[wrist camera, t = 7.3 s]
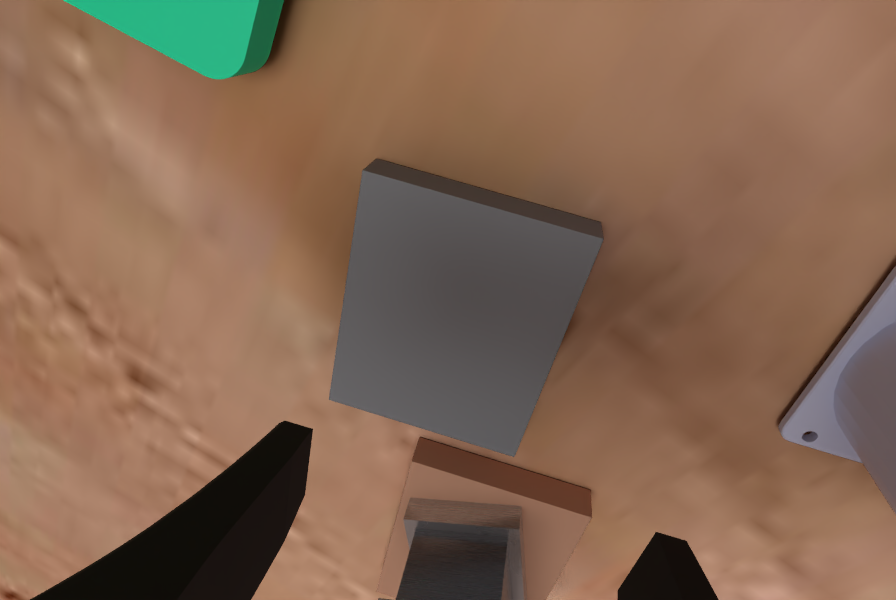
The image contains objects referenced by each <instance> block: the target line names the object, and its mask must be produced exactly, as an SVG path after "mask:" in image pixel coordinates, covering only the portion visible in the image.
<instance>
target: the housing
mask: <svg viewBox="0 0 896 600" xmlns="http://www.w3.org/2000/svg"><path fill="white" fill-rule="evenodd" d="M403 520H404V525H405V530H406V535H407V540H408V545H409V550H410V551H409V554H408V558H407V561H406V565H405V569H404V572H403V576H402V579H401V583H400V586H399V590H398V593H397V597H396V600H527V589H526V573H525V556H524V539H523V523H522V506H515V505H502V504H489V503H476V502H463V501H450V500H437V499H423V498H410V499H409V503H408V506H407V509H406V512H405V515H404V519H403ZM378 600H390V599H382V598H378Z"/></svg>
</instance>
